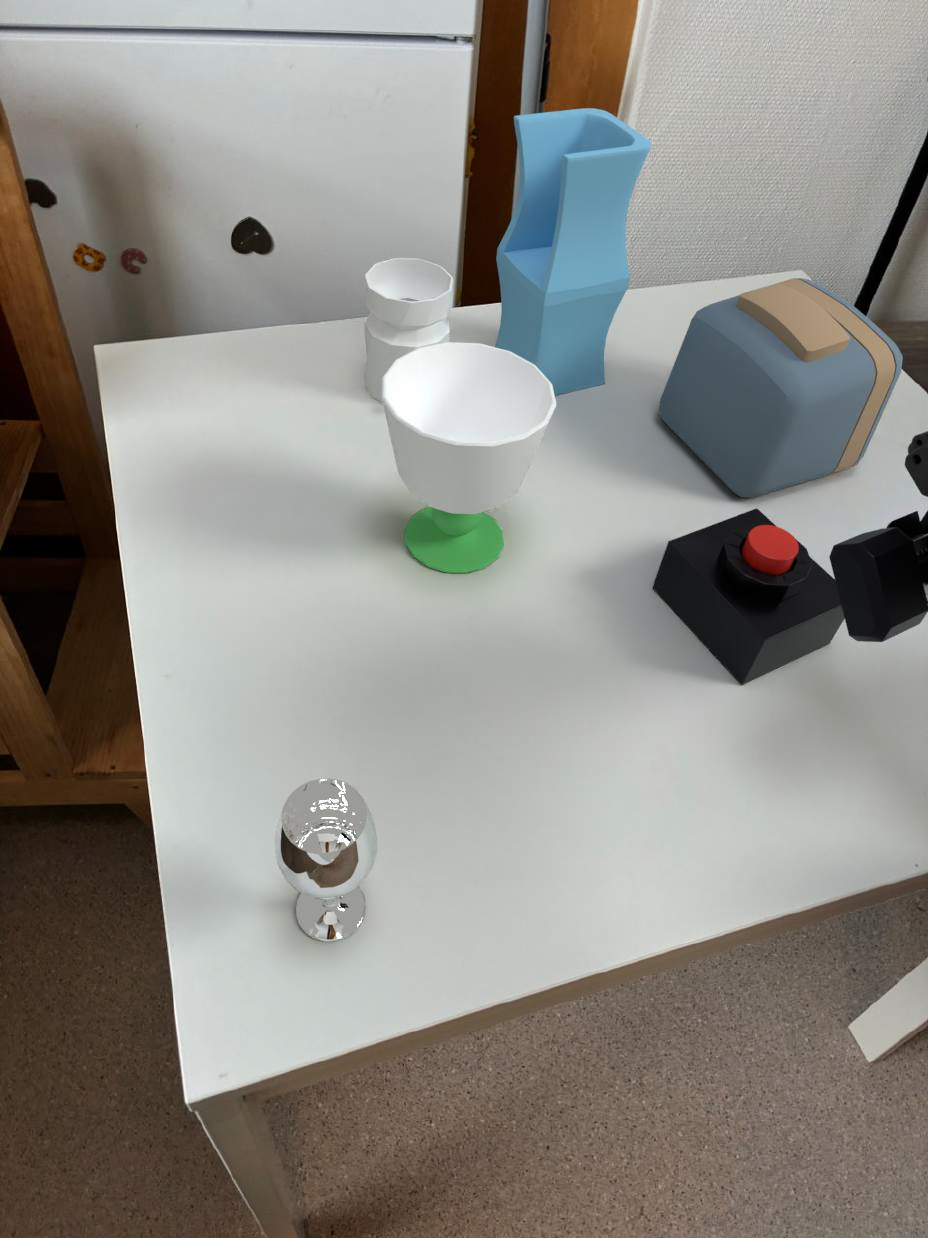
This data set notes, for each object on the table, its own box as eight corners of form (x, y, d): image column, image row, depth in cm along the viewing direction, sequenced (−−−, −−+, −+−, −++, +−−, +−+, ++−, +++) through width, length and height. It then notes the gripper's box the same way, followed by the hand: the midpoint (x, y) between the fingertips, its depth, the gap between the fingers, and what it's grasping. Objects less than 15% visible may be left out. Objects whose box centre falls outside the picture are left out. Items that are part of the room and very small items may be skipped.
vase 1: (386, 416, 93) (388, 310, 84) (351, 371, 97) (349, 266, 88) (460, 397, 96) (470, 292, 87) (422, 354, 101) (428, 251, 92)
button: (801, 565, 72) (809, 550, 71) (764, 581, 71) (772, 565, 70) (767, 534, 75) (774, 519, 73) (731, 549, 73) (737, 533, 72)
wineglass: (302, 967, 55) (289, 880, 46) (273, 885, 59) (257, 790, 50) (389, 930, 57) (393, 841, 48) (357, 853, 61) (355, 756, 52)
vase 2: (485, 353, 102) (512, 115, 83) (559, 337, 105) (601, 105, 87) (528, 402, 96) (567, 158, 78) (605, 383, 100) (660, 146, 81)
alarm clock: (864, 472, 93) (937, 334, 81) (739, 511, 87) (797, 369, 75) (764, 385, 102) (817, 250, 90) (646, 415, 97) (685, 274, 85)
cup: (365, 496, 84) (365, 346, 72) (505, 481, 87) (527, 335, 76) (395, 603, 76) (400, 453, 64) (548, 582, 79) (581, 436, 67)
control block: (829, 644, 77) (866, 583, 71) (741, 685, 73) (772, 625, 67) (737, 554, 83) (763, 491, 78) (651, 587, 79) (673, 525, 74)
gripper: (1140, 365, 53) (913, 417, 68) (928, 444, 46) (724, 484, 60) (1175, 545, 55) (946, 559, 69) (975, 649, 48) (765, 640, 62)
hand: (851, 557), depth 65 cm, fingers closed
